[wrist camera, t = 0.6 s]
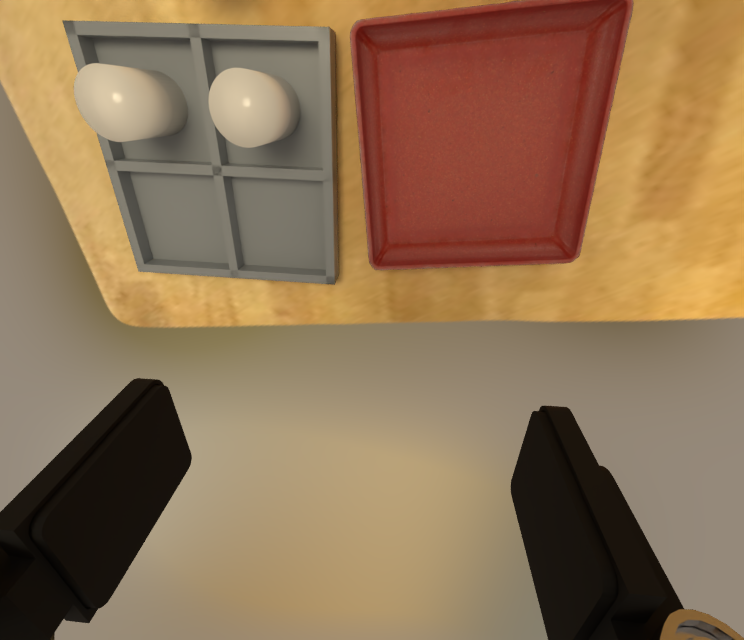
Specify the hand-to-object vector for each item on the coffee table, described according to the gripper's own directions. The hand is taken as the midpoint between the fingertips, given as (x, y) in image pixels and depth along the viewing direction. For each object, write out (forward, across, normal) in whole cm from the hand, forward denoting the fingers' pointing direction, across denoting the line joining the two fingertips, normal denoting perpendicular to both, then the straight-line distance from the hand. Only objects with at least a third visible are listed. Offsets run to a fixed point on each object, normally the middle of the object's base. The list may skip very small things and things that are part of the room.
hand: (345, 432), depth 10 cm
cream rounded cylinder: (+26, +10, -7) cm, 29 cm away
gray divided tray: (+27, +14, -2) cm, 31 cm away
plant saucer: (+28, -6, -4) cm, 29 cm away
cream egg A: (+26, +19, -7) cm, 33 cm away
